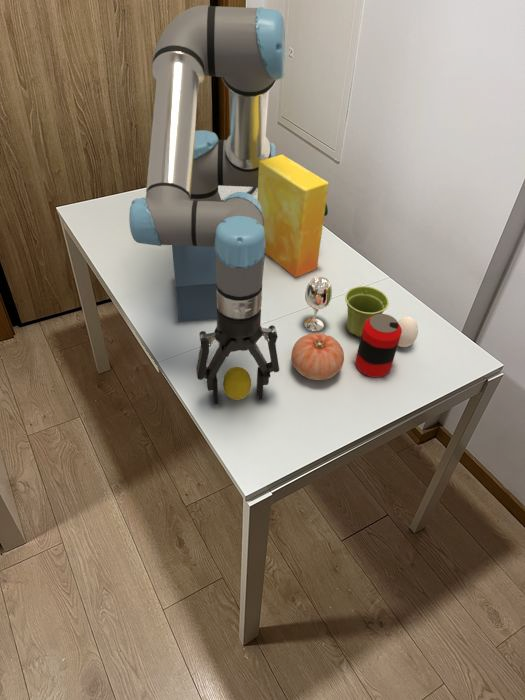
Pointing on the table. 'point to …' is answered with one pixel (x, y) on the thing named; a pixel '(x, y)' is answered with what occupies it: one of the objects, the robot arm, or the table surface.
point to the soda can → (378, 345)
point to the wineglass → (317, 300)
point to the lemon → (237, 383)
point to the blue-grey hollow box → (196, 302)
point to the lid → (194, 265)
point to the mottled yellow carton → (292, 213)
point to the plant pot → (363, 306)
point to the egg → (407, 331)
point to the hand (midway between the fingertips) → (237, 396)
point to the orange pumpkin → (317, 356)
